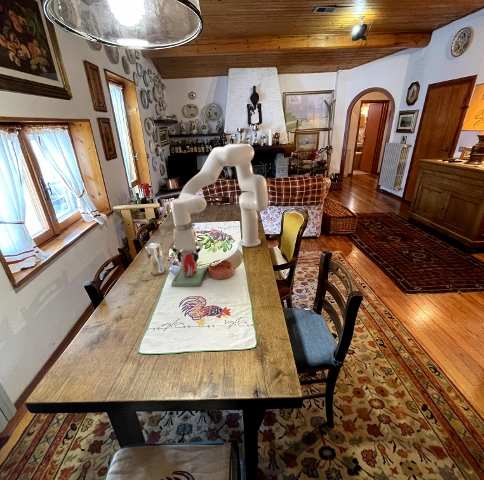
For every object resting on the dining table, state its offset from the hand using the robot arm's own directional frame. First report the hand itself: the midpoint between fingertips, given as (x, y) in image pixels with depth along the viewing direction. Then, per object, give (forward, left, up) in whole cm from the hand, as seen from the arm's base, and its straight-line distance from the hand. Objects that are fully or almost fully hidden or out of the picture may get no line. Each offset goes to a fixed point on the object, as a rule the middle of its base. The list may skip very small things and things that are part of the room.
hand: (188, 260), depth 121 cm
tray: (0, 0, -9) cm, 9 cm away
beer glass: (-4, -18, -9) cm, 21 cm away
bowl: (-3, +15, -9) cm, 18 cm away
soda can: (0, 0, -7) cm, 7 cm away
